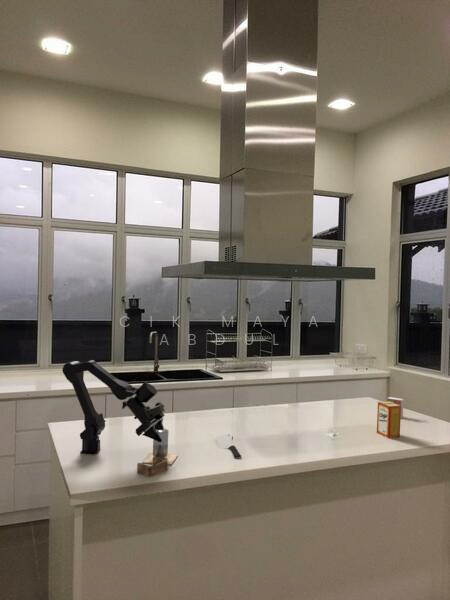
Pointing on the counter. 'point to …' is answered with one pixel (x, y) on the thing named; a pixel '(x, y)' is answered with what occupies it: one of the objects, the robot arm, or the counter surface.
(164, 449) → the canister
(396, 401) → the small box
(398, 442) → the counter surface
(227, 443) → the kitchen cleaver
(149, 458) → the mat
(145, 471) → the cubby
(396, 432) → the baking soda box
